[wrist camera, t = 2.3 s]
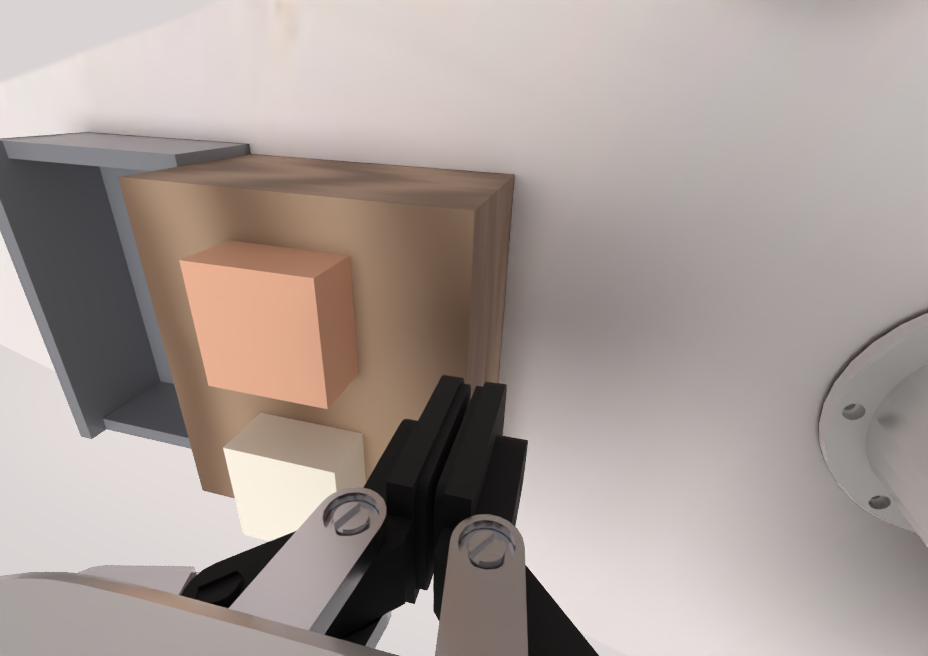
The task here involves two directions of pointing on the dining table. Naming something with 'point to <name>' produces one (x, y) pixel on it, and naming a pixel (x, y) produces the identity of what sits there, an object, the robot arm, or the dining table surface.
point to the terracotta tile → (274, 320)
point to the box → (95, 272)
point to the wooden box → (372, 270)
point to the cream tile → (289, 471)
